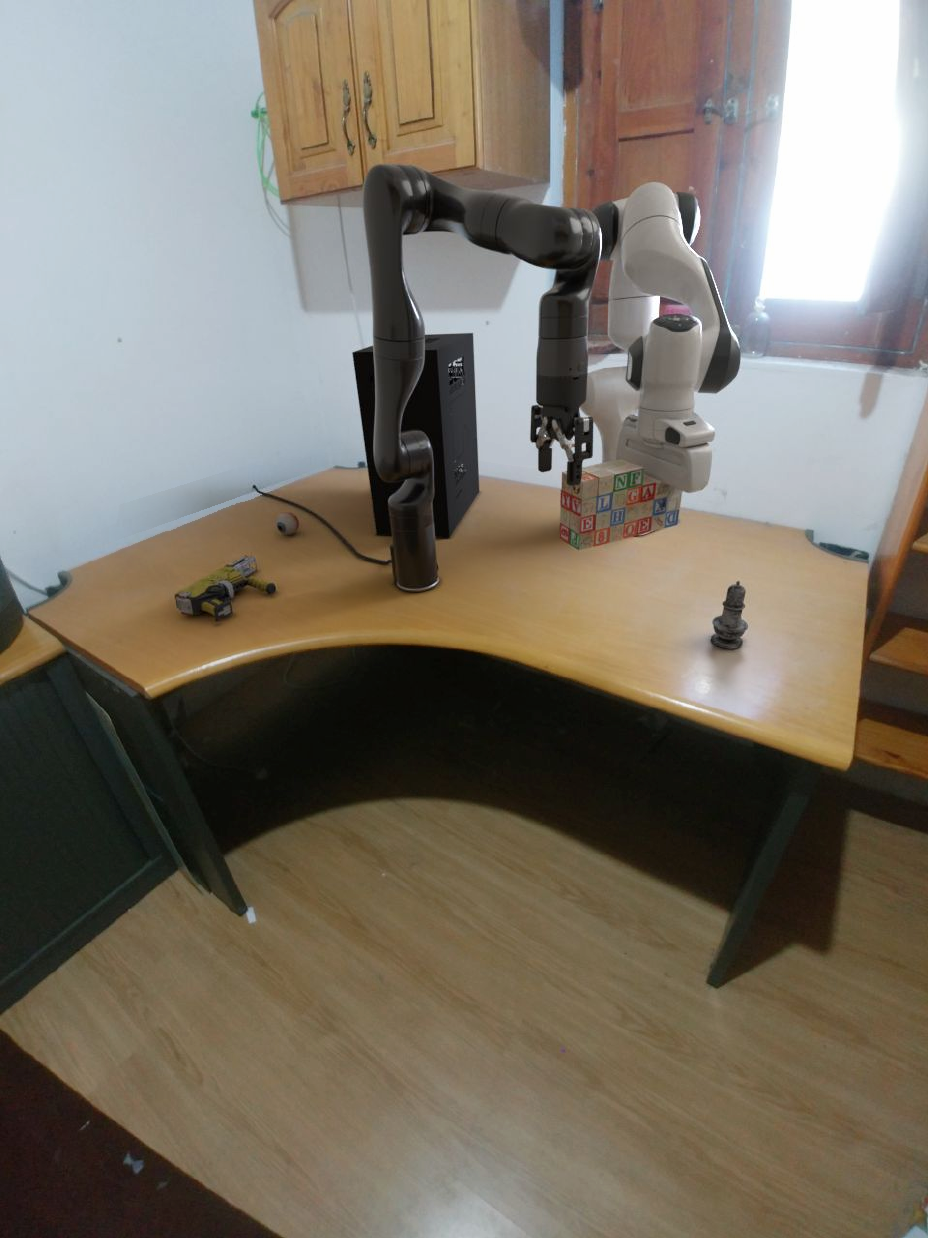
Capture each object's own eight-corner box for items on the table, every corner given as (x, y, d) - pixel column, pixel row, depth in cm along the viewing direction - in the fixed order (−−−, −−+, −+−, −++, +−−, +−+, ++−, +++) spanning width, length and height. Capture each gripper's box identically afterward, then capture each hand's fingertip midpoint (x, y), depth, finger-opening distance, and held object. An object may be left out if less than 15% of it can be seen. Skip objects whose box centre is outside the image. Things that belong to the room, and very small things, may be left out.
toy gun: (297, 563, 140) (243, 552, 144) (229, 608, 120) (168, 594, 124) (299, 582, 142) (245, 570, 146) (233, 629, 122) (172, 614, 126)
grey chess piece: (747, 650, 105) (760, 589, 99) (711, 648, 106) (722, 587, 100) (741, 633, 110) (753, 574, 104) (707, 631, 111) (717, 572, 105)
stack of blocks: (654, 514, 114) (663, 449, 108) (677, 525, 109) (687, 458, 103) (558, 538, 107) (561, 470, 101) (578, 551, 102) (582, 480, 96)
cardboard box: (449, 537, 157) (436, 349, 134) (376, 534, 161) (352, 352, 139) (479, 491, 188) (473, 332, 166) (417, 489, 193) (403, 335, 170)
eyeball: (273, 537, 164) (268, 516, 161) (287, 528, 169) (282, 508, 166) (291, 539, 161) (286, 518, 158) (305, 530, 166) (301, 510, 163)
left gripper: (516, 367, 93) (516, 471, 102) (567, 378, 82) (563, 493, 90) (557, 362, 96) (554, 463, 104) (612, 372, 85) (604, 485, 93)
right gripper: (610, 414, 108) (605, 488, 115) (692, 439, 92) (680, 523, 99) (639, 409, 110) (632, 482, 118) (723, 432, 94) (709, 516, 101)
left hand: (558, 477), depth 97 cm, fingers open, 8 cm apart
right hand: (654, 501), depth 108 cm, fingers closed on stack of blocks, 6 cm apart
